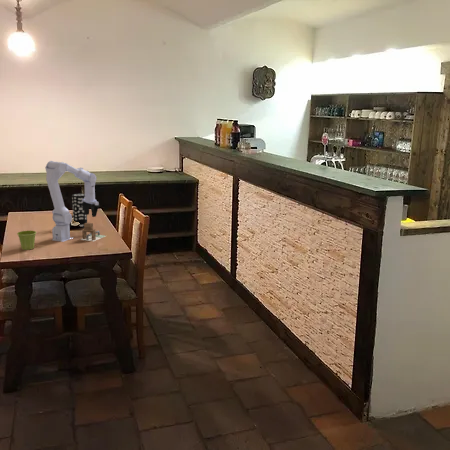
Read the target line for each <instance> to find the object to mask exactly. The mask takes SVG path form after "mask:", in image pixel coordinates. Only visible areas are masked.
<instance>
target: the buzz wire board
mask: <svg viewBox="0 0 450 450" xmlns="http://www.w3.org/2000/svg"><path fill="white" fill-rule="evenodd" d="M95 231H96V234H97V235H101V232H100V230H95ZM90 235H91V232H89V233H87V236H86V239H83V237H82V238H80V240H81V241H87V242H88V241H89V242H96V241H98V240H100V239H102V238H103V239H104V237H102V238H101V237H96V240H92V236H90Z"/></svg>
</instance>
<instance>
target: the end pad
mask: <svg viewBox="0 0 450 450" xmlns="http://www.w3.org/2000/svg"><path fill="white" fill-rule="evenodd" d="M90 236H92V235H90ZM96 237H101V238H100V239H102V237H103V238H105V237H106V235H104V234H100V235H98V234H96Z"/></svg>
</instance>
